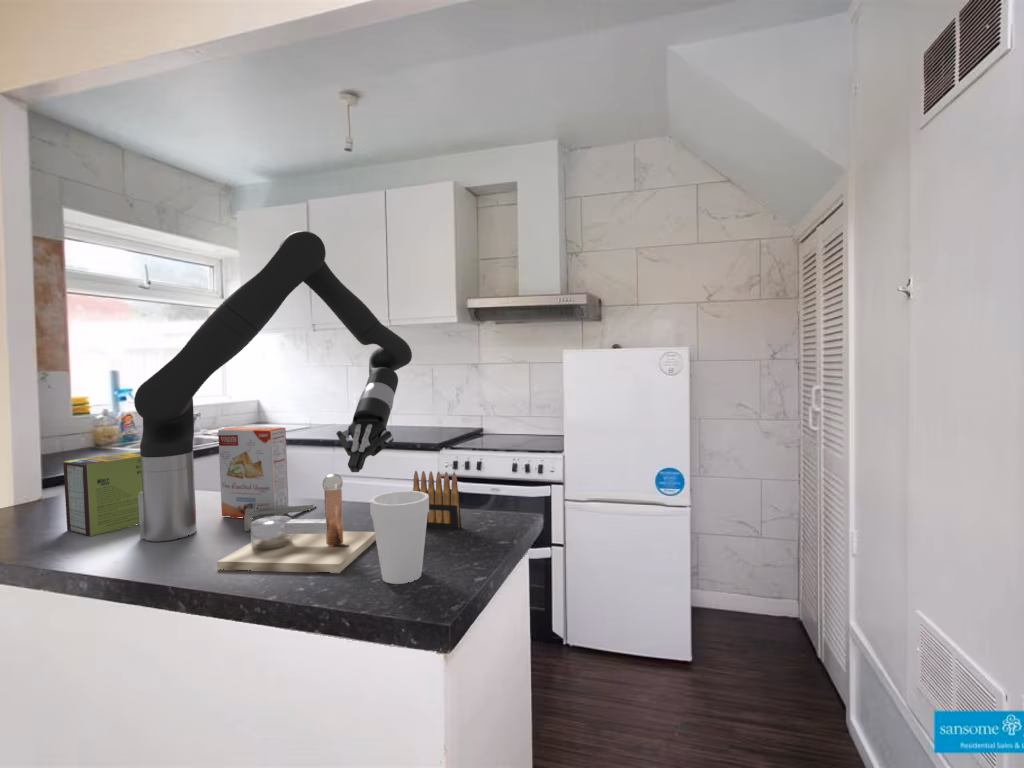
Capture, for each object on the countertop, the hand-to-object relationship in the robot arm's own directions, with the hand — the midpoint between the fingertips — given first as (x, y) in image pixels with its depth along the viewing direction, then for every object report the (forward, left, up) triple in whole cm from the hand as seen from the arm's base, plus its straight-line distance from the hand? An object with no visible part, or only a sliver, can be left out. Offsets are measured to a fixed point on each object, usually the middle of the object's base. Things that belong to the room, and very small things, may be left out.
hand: (354, 470), depth 110 cm
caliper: (-21, +8, -13) cm, 26 cm away
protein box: (-58, +3, -13) cm, 59 cm away
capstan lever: (-6, -12, -11) cm, 18 cm away
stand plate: (-5, -13, -13) cm, 19 cm away
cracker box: (-29, +10, -13) cm, 33 cm away
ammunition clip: (+16, +4, -13) cm, 21 cm away
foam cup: (+17, -22, -13) cm, 31 cm away
